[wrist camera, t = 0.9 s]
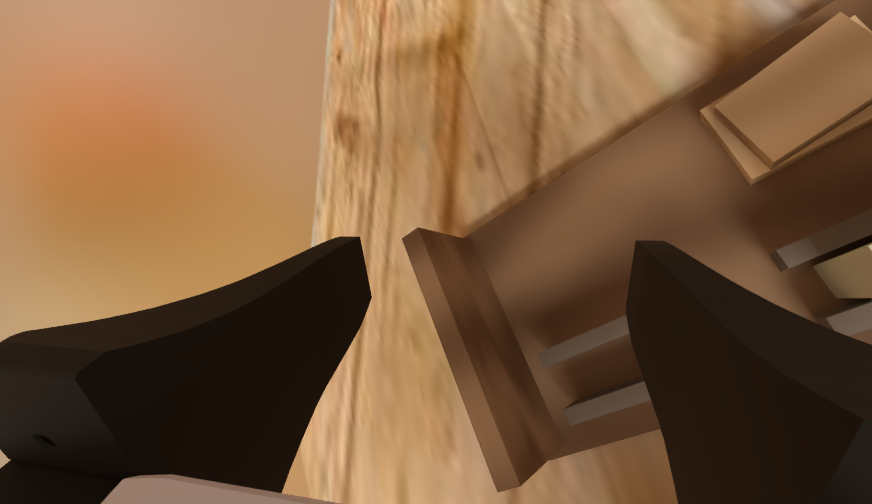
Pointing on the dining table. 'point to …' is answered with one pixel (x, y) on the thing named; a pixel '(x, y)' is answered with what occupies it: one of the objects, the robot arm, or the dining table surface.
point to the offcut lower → (758, 170)
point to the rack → (612, 261)
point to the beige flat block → (849, 273)
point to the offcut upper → (803, 92)
